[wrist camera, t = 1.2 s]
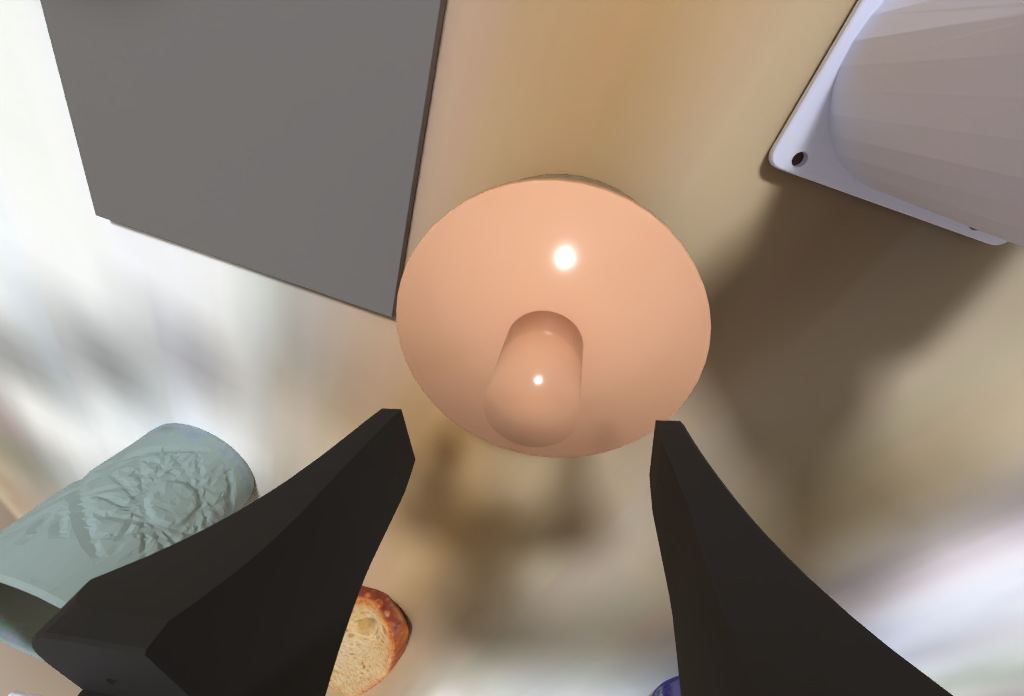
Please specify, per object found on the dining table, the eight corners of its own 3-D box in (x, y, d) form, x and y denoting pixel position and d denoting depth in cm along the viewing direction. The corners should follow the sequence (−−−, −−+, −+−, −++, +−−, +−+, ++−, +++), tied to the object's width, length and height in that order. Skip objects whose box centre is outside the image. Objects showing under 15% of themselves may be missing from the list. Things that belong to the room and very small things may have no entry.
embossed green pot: (163, 491, 36) (-5, 649, 26) (117, 399, 31) (-118, 553, 21) (276, 517, 35) (147, 691, 25) (250, 428, 30) (73, 603, 20)
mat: (449, -20, 15) (444, -23, 15) (395, 312, 23) (391, 317, 22) (12, -177, 15) (-8, -186, 14) (107, 212, 22) (96, 215, 22)
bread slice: (339, 674, 52) (322, 712, 49) (241, 588, 44) (214, 627, 41) (468, 674, 46) (459, 718, 43) (381, 575, 38) (362, 620, 35)
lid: (777, 248, 14) (849, 314, 10) (623, 476, 21) (629, 571, 17) (432, 126, 14) (365, 143, 10) (387, 395, 20) (335, 471, 16)
